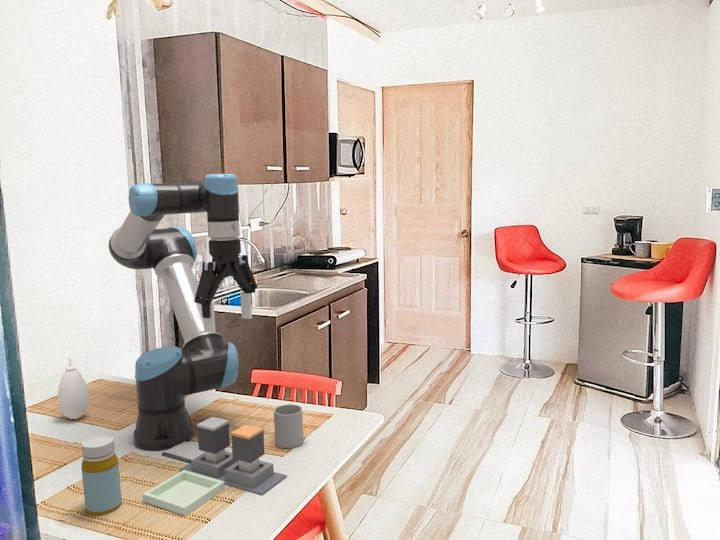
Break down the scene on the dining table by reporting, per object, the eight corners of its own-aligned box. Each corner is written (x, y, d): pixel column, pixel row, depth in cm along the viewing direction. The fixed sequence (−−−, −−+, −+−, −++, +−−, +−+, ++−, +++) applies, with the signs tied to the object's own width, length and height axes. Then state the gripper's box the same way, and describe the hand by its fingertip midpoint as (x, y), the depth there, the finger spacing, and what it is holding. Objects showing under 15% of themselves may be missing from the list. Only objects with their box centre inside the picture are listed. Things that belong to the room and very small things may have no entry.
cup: (284, 451, 155) (283, 417, 154) (264, 438, 163) (262, 406, 161) (309, 443, 159) (307, 410, 158) (288, 431, 167) (286, 399, 166)
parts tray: (143, 504, 132) (142, 494, 131) (184, 479, 142) (183, 469, 142) (185, 518, 126) (184, 508, 126) (225, 491, 136) (224, 481, 136)
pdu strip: (149, 464, 150) (145, 416, 148) (176, 449, 157) (173, 403, 156) (262, 497, 133) (259, 444, 131) (287, 479, 141) (284, 428, 139)
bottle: (92, 500, 134) (86, 434, 131) (126, 498, 134) (120, 433, 132) (81, 518, 127) (74, 449, 124) (116, 516, 127) (110, 447, 125)
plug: (233, 479, 139) (231, 432, 138) (248, 469, 144) (245, 424, 142) (251, 484, 137) (249, 436, 135) (265, 474, 141) (263, 428, 140)
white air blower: (96, 414, 182) (90, 354, 179) (79, 424, 174) (73, 362, 171) (71, 412, 183) (65, 353, 180) (54, 423, 175) (48, 361, 172)
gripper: (199, 245, 138) (205, 338, 141) (268, 233, 159) (272, 314, 163) (174, 243, 141) (180, 334, 145) (245, 232, 163) (249, 312, 166)
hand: (229, 324), depth 154 cm, fingers open, 13 cm apart
